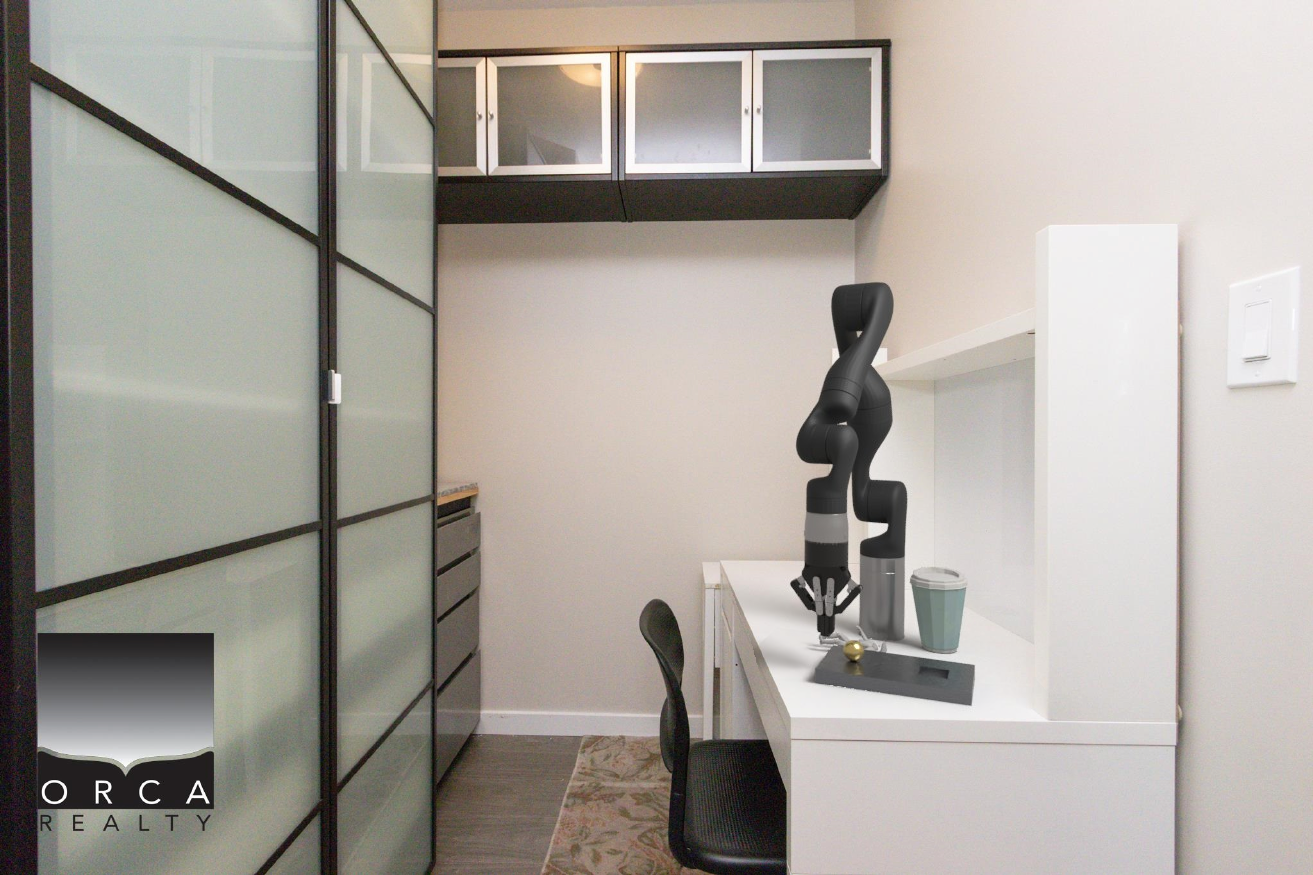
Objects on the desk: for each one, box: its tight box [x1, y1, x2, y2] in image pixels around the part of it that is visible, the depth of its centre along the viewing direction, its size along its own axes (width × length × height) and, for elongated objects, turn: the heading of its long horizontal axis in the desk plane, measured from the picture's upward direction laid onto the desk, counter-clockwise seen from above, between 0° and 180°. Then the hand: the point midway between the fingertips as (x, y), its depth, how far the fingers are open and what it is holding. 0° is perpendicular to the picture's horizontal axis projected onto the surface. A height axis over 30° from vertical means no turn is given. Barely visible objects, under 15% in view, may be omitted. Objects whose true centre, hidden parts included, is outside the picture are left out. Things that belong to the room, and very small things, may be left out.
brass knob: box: [843, 639, 864, 661], centre depth 122 cm, size 4×4×4 cm
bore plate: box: [814, 644, 976, 707], centre depth 119 cm, size 14×24×2 cm, turn 64°
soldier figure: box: [818, 624, 888, 653], centre depth 135 cm, size 8×5×12 cm
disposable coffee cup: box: [909, 566, 969, 654], centre depth 137 cm, size 11×11×15 cm
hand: (825, 635), depth 125 cm, fingers closed
